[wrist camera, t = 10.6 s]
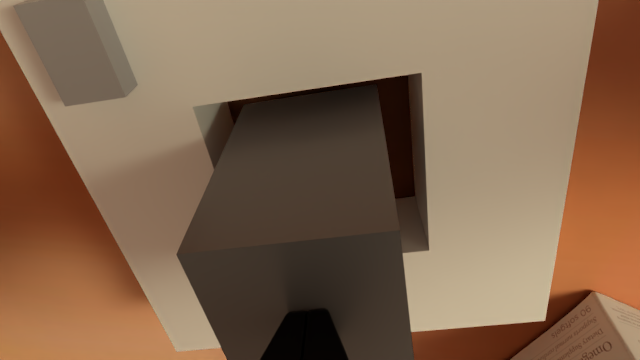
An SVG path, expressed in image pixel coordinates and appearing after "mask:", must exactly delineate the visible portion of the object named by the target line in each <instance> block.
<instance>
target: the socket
mask: <svg viewBox="0 0 640 360" xmlns="http://www.w3.org/2000/svg"><path fill="white" fill-rule="evenodd" d="M598 1H599V0H0V31H1V33H2V35H3V37H4V38H5V40H6V42H7V44H8V46H9V48H10V49H11V51H12V53H13V55H14V57H15V58H16V60H17V62H18V64H19V66H20V68H21V69H22V71H23V73H24V75H25V77H26V78H27V80H28V82H29V84H30V86H31V88H32V89H33V91H34V93H35V95H36V97H37V98H38V100H39V102H40V104H41V106H42V108H43V109H44V111H45V113H46V115H47V117H48V118H49V120H50V122H51V124H52V126H53V128H54V129H55V131H56V133H57V135H58V137H59V139H60V140H61V142H62V144H63V146H64V148H65V149H66V151H67V153H68V155H69V157H70V159H71V160H72V162H73V164H74V166H75V168H76V169H77V171H78V173H79V175H80V177H81V179H82V180H83V182H84V184H85V186H86V188H87V189H88V191H89V193H90V195H91V197H92V199H93V200H94V202H95V204H96V206H97V208H98V209H99V211H100V213H101V215H102V217H103V219H104V220H105V222H106V224H107V226H108V228H109V230H110V231H111V233H112V235H113V237H114V239H115V240H116V242H117V244H118V246H119V248H120V250H121V251H122V253H123V255H124V257H125V259H126V260H127V262H128V264H129V266H130V268H131V270H132V271H133V273H134V275H135V277H136V279H137V280H138V282H139V284H140V286H141V288H142V290H143V291H144V293H145V295H146V297H147V299H148V301H149V302H150V304H151V306H152V308H153V310H154V311H155V313H156V315H157V317H158V319H159V321H160V322H161V324H162V326H163V328H164V330H165V331H166V333H167V335H168V337H169V339H170V341H171V342H172V344H173V346H174V348H175V350H176V351H177V352H179V351H191V350H202V349H214V348H221V346H220V344H219V342H218V340H217V338H216V336H215V334H214V331H213V329H212V327H211V325H210V323H209V321H208V319H207V317H206V315H205V313H204V311H203V309H202V307H201V305H200V303H199V301H198V298H197V296H196V294H195V292H194V290H193V288H192V286H191V284H190V282H189V280H188V278H187V276H186V274H185V272H184V270H183V268H182V265H181V263H180V261H179V259H178V257H177V255H176V254H177V251H178V249H179V247H180V245H181V243H182V240H183V238H184V236H185V234H186V231H187V229H188V227H189V225H190V223H191V220H192V218H193V216H194V214H195V212H196V209H197V207H198V205H199V203H200V201H201V198H202V196H203V194H204V192H205V189H206V187H207V185H208V183H209V181H210V178H211V176H212V174H213V172H214V170H215V167H216V165H217V163H218V161H219V158H220V156H221V154H222V152H223V150H224V147H225V145H226V143H227V141H228V139H229V136H230V134H231V132H232V130H233V127H234V122H233V119H232V116H231V113H230V109H229V106H228V103H227V102H228V101H234V100H241V99H248V98H255V97H261V96H268V95H275V94H282V93H288V92H295V91H302V90H309V89H315V88H322V87H329V86H336V85H342V84H349V83H356V82H363V81H369V80H376V79H383V78H390V77H396V76H403V75H408V87H409V104H410V120H411V137H412V153H413V170H414V186H415V196H414V197H405V198H397V199H395V202H396V208H397V214H398V220H399V227H400V234H401V243H402V253H403V262H404V271H405V280H406V290H407V299H408V308H409V317H410V327H411V332H418V331H430V330H442V329H454V328H466V327H478V326H490V325H502V324H514V323H525V322H537V321H545V318H546V312H547V307H548V301H549V295H550V289H551V283H552V277H553V271H554V265H555V259H556V253H557V247H558V241H559V235H560V229H561V223H562V217H563V211H564V205H565V199H566V193H567V187H568V181H569V175H570V169H571V163H572V157H573V151H574V145H575V139H576V133H577V127H578V121H579V115H580V109H581V103H582V97H583V91H584V85H585V79H586V73H587V67H588V61H589V55H590V49H591V43H592V37H593V31H594V25H595V19H596V13H597V7H598Z"/></svg>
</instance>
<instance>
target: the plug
mask: <svg viewBox="0 0 640 360" xmlns="http://www.w3.org/2000/svg"><path fill="white" fill-rule="evenodd" d="M176 255H177V257H178V259H179V261H180V263H181V265H182V268H183V270H184V272H185V274H186V276H187V278H188V280H189V282H190V284H191V286H192V288H193V290H194V292H195V294H196V296H197V298H198V301H199V303H200V305H201V307H202V309H203V311H204V313H205V315H206V317H207V319H208V321H209V323H210V325H211V327H212V329H213V331H214V334H215V336H216V338H217V340H218V342H219V344H220V346H221V348H222V350H223V352H224V354H225V356H226V358H227V360H260V358H261V357H262V355H263V353H264V351H265V350H266V348H267V346H268V345H269V343H270V341H271V339H272V338H273V336H274V334H275V332H276V331H277V329H278V327H279V325H280V324H281V322H282V320H283V319H284V317H285V315H286V314H287V313H289V312H296V311H306V312H307V313H308V312H309V311H310V310H316V309H328V310H329V312H330V315H331V317H332V320H333V322H334V324H335V327H336V329H337V332H338V334H339V336H340V339H341V341H342V344H343V346H344V349H345V351H346V353H347V356H348V358H349V360H414V354H413V345H412V336H411V327H410V317H409V308H408V299H407V290H406V280H405V271H404V262H403V253H402V243H401V234H400V227H399V220H398V214H397V208H396V202H395V195H394V189H393V183H392V176H391V170H390V164H389V158H388V151H387V145H386V139H385V133H384V126H383V120H382V114H381V107H380V101H379V95H378V89H377V84H373V85H367V86H360V87H354V88H347V89H341V90H334V91H328V92H321V93H315V94H308V95H302V96H295V97H289V98H282V99H276V100H269V101H263V102H256V103H250V104H244V105H243V108H242V110H241V112H240V114H239V116H238V119H237V121H236V123H235V125H234V127H233V130H232V132H231V134H230V136H229V139H228V141H227V143H226V145H225V147H224V150H223V152H222V154H221V156H220V158H219V161H218V163H217V165H216V167H215V170H214V172H213V174H212V176H211V178H210V181H209V183H208V185H207V187H206V189H205V192H204V194H203V196H202V198H201V201H200V203H199V205H198V207H197V209H196V212H195V214H194V216H193V218H192V220H191V223H190V225H189V227H188V229H187V231H186V234H185V236H184V238H183V240H182V243H181V245H180V247H179V249H178V251H177V254H176Z"/></svg>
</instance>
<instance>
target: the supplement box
mask: <svg viewBox="0 0 640 360" xmlns="http://www.w3.org/2000/svg"><path fill="white" fill-rule="evenodd" d="M510 360H640V311H639V310H637V309H635V308H632V307H630V306H628V305H626V304H624V303H621V302H619V301H617V300H614V299H613V298H610V297H608V296H606V295H603V294H600V293H598V292H594V291H593V292H591V293H590V294H589V296H588V297H586V298H585V299H584V300H583V301H582V302H581V303H580V304H579V305H578V306H577V307H575V308H574V309H573V310H572V311H571V312H569V313H568V314H567V315H566V316H565V317H563V318H562V319H561V320H560V321H559V322H557V323H556V324H555V325H554V326H552V327H551V328H550V329H549V330H547V331H546V332H545V333H544V334H542V335H541V336H540V337H538V338H537V339H536V340H534V341H533V342H532V343H530V344H529V345H528V346H527V347H525V348H524V349H523V350H521V351H520V352H519V353H518V354H517V355H515V356H514V357H512V358H511V359H510Z"/></svg>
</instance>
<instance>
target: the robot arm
mask: <svg viewBox="0 0 640 360" xmlns="http://www.w3.org/2000/svg"><path fill="white" fill-rule="evenodd" d="M260 360H349V358H348V356H347V353H346V351H345V349H344V346H343V344H342V341H341V339H340V336H339V334H338V332H337V329H336V327H335V324H334V322H333V320H332V317H331V315H330V312H329V310H328V309H316V310H310V311H309V312H308V313H307V312H306V311H296V312H289V313H287V314H286V315H285V317H284V319H283V320H282V322H281V324H280V325H279V327H278V329H277V331H276V332H275V334H274V336H273V338H272V339H271V341H270V343H269V345H268V346H267V348H266V350H265V351H264V353H263V355H262V357H261V358H260Z"/></svg>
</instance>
